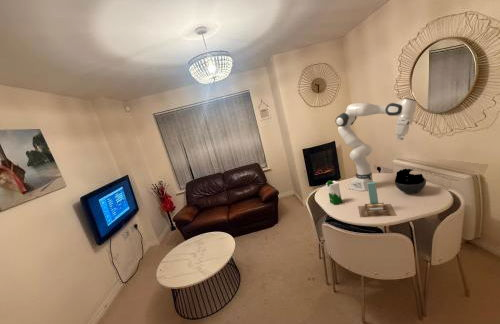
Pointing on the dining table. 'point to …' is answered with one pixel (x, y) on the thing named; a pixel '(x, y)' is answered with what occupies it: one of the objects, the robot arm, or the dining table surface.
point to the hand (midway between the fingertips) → (400, 140)
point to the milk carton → (334, 192)
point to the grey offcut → (376, 209)
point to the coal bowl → (409, 181)
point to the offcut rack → (386, 211)
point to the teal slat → (372, 193)
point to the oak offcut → (375, 206)
